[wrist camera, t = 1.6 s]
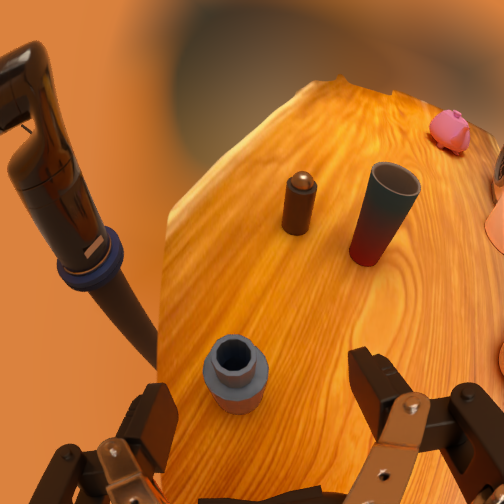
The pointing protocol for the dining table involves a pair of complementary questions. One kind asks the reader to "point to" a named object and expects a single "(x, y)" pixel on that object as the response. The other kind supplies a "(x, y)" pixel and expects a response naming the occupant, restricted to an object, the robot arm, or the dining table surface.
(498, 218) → the cup
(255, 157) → the dining table surface
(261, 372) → the bottle
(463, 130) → the teapot
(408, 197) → the cup
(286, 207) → the pepper mill
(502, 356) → the mug
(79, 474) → the robot arm
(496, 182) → the alarm clock
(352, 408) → the dining table surface
